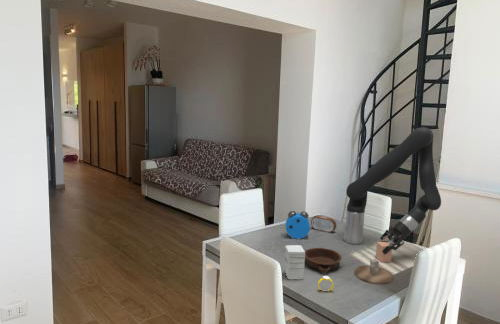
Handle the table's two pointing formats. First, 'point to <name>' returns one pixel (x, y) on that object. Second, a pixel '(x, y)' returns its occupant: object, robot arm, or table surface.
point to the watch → (326, 280)
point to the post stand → (374, 273)
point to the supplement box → (294, 261)
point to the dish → (322, 259)
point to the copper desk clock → (323, 223)
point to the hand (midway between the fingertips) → (380, 250)
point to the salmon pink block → (380, 254)
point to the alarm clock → (297, 224)
